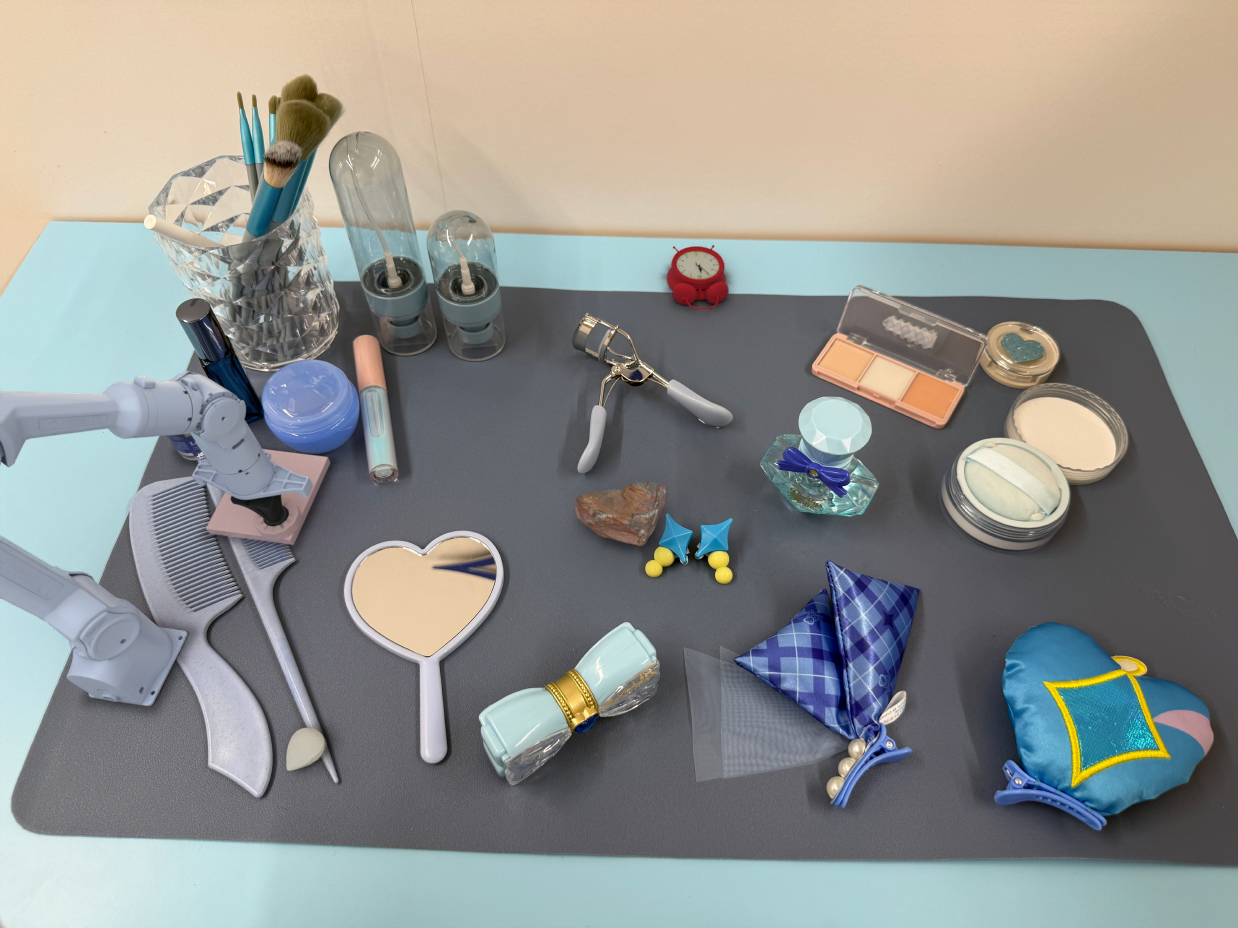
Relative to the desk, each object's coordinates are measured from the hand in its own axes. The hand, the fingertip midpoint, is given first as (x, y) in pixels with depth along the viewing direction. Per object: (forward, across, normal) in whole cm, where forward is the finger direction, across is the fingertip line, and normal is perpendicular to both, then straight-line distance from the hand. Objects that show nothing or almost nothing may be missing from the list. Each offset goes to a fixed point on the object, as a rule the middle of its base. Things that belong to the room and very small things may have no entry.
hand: (275, 515), depth 104 cm
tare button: (+1, 0, 0) cm, 1 cm away
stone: (+3, -46, -6) cm, 47 cm away
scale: (+3, +4, -4) cm, 6 cm away
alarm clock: (+3, -52, -58) cm, 78 cm away
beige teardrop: (+3, -14, +28) cm, 32 cm away
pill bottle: (+3, +18, -12) cm, 21 cm away
